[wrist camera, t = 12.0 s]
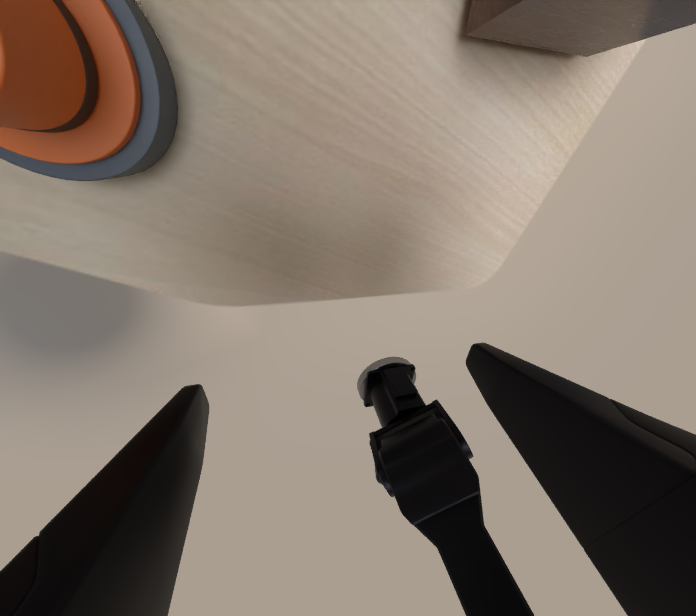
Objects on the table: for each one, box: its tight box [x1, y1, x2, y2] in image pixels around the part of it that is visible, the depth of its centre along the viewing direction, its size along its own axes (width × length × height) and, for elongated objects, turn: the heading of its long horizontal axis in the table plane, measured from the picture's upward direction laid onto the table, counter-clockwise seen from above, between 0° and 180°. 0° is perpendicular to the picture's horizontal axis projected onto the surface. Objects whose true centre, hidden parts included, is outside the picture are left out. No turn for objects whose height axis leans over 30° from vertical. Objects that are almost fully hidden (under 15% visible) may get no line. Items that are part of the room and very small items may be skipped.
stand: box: [0, 0, 177, 181], centre depth 11 cm, size 9×9×2 cm
